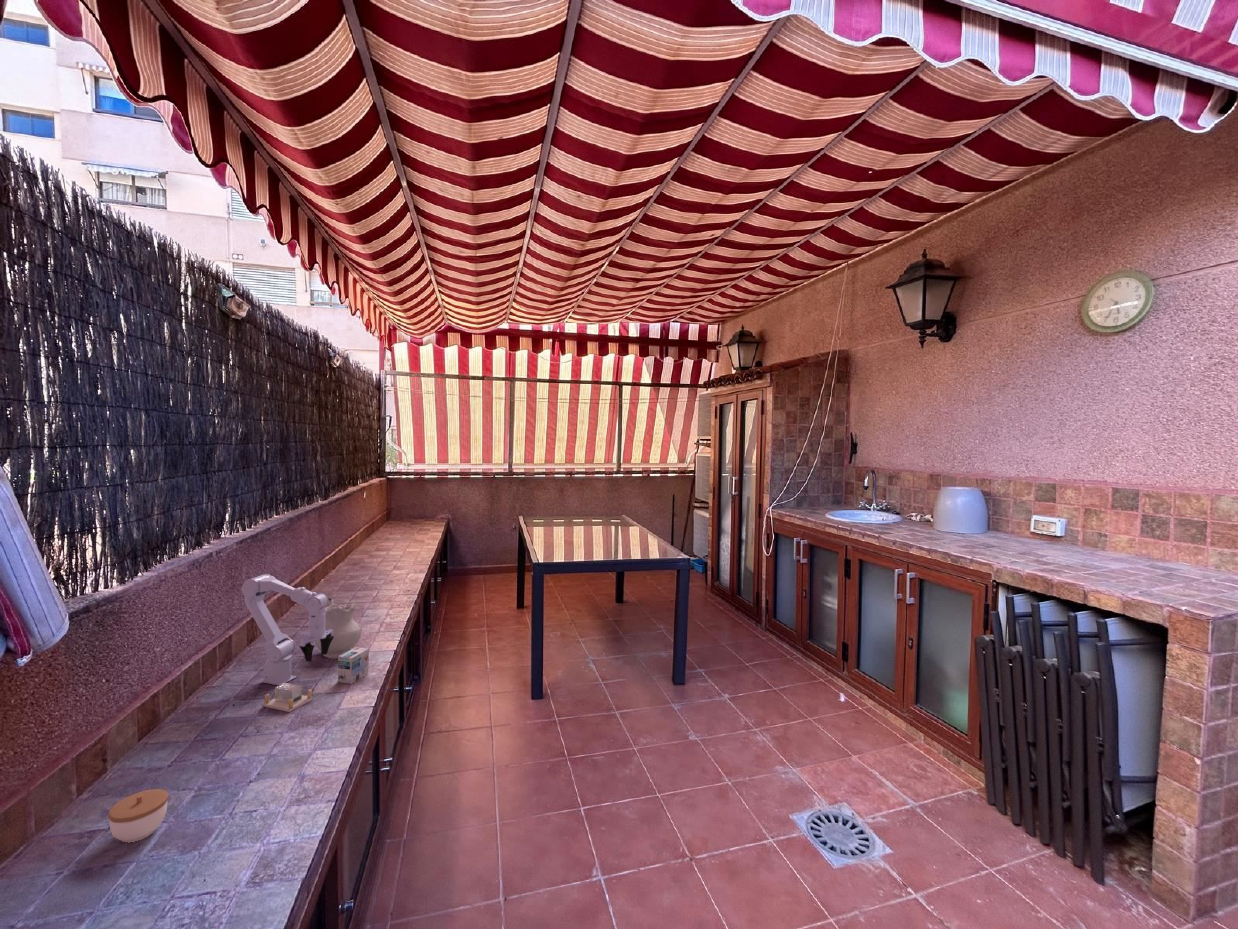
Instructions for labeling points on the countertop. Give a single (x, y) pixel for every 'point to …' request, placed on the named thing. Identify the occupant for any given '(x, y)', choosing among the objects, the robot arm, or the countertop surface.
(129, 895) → the countertop surface
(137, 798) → the lidded jar
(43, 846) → the countertop surface
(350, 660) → the light bulb box
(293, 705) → the wooden peg board
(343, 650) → the beige vase
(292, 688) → the mauve rectangular box
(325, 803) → the countertop surface
